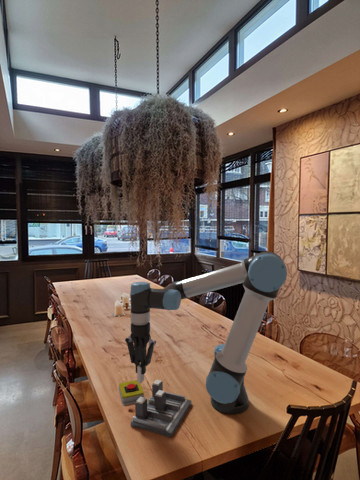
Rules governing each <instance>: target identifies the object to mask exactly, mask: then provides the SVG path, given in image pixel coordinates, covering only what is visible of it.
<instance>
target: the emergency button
mask: <svg viewBox="0 0 360 480" xmlns="http://www.w3.org/2000/svg"><path fill="white" fill-rule="evenodd" d="M117 389H118V392H119V396H120V400H121V404H122V406H127V405H133V404H135V403H136V401H137V400H138V399H139V398H140V397H144V398H145V395H144V394H145V391H144V389H143V387H142V383H137V379H135V380H129V381H123V382H120V383H119V384H118V387H117Z"/></svg>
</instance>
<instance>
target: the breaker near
mask: <svg viewBox="0 0 360 480" xmlns="http://www.w3.org/2000/svg"><path fill="white" fill-rule="evenodd" d="M147 402H148V398H147V397H145V396H144V397H140V398H139V399H138V400H137V401H136V403H134V405H135V406H134V410H135V412H134V416H136V417H139V418H143V419H145V418H146V416H147V415H148V410H147Z"/></svg>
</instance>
